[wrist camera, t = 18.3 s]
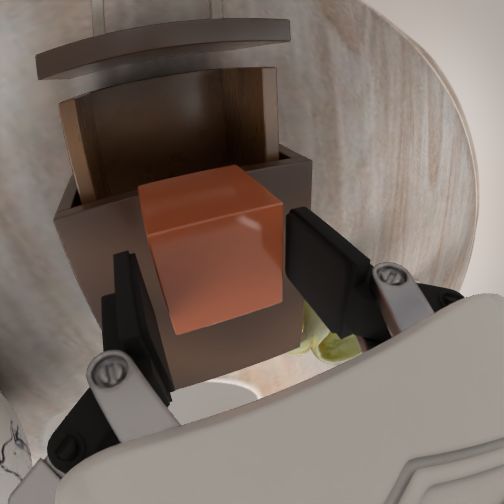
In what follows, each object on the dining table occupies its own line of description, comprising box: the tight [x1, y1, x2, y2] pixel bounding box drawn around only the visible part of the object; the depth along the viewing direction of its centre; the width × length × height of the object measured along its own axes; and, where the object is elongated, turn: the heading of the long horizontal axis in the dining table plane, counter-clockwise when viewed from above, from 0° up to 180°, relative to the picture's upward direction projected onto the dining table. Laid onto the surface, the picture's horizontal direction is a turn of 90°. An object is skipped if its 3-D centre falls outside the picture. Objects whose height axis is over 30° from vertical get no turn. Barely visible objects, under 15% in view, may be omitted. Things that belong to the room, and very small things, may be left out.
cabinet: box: [53, 144, 312, 390], centre depth 21 cm, size 15×13×10 cm
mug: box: [286, 300, 362, 364], centre depth 32 cm, size 12×10×10 cm
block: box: [137, 165, 283, 335], centre depth 12 cm, size 4×4×4 cm
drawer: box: [35, 0, 291, 205], centre depth 15 cm, size 18×11×8 cm, turn 3°
